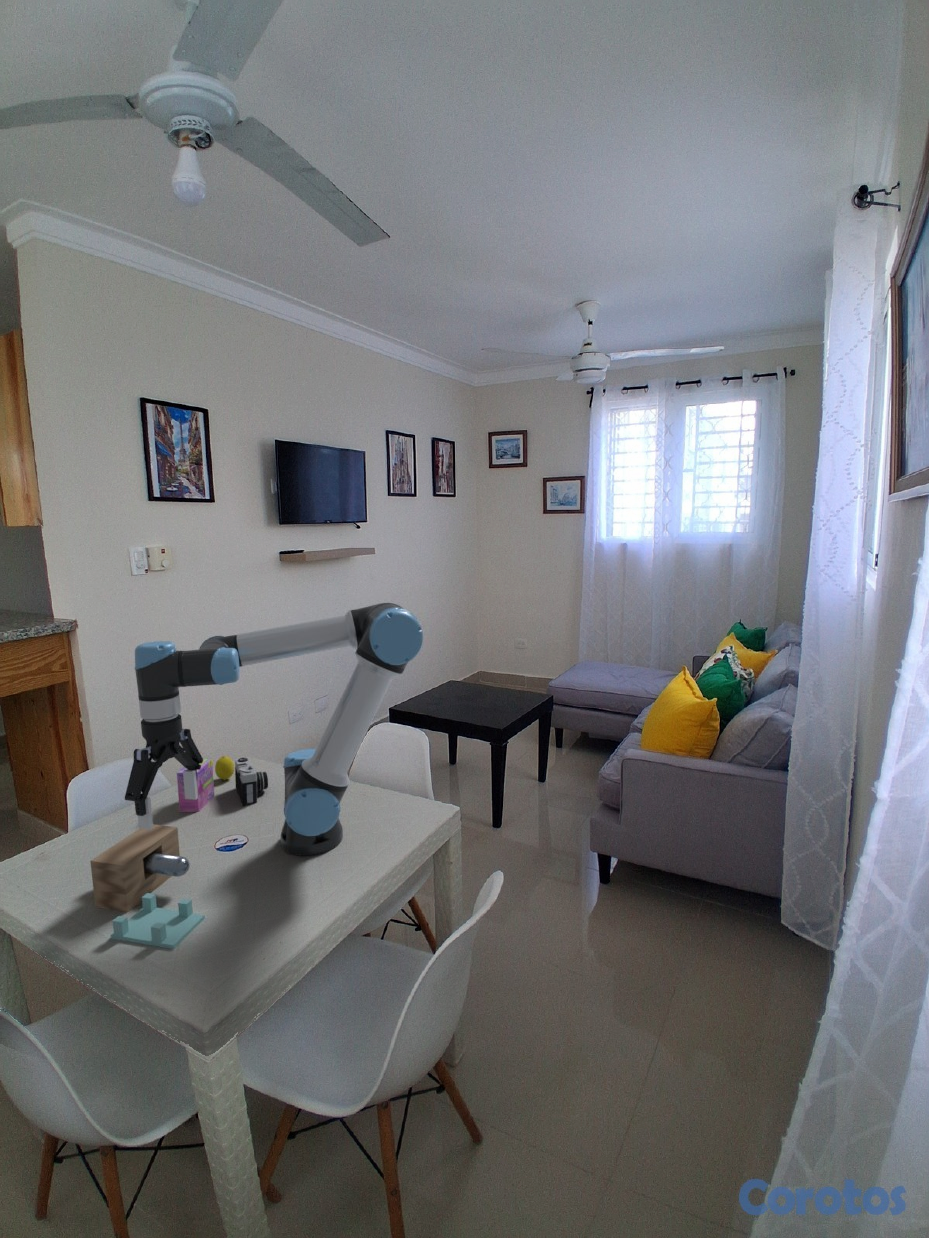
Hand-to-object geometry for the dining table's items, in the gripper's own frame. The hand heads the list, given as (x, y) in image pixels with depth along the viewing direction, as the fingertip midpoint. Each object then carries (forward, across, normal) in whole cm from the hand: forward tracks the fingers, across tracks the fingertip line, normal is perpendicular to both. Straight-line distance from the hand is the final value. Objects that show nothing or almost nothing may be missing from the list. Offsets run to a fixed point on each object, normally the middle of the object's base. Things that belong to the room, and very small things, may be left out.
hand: (170, 812), depth 126 cm
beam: (+18, 0, -9) cm, 21 cm away
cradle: (+18, +11, +4) cm, 22 cm away
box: (+19, -38, -24) cm, 48 cm away
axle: (+14, 0, -7) cm, 16 cm away
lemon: (+19, -54, -26) cm, 62 cm away
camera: (+19, -46, -12) cm, 51 cm away
